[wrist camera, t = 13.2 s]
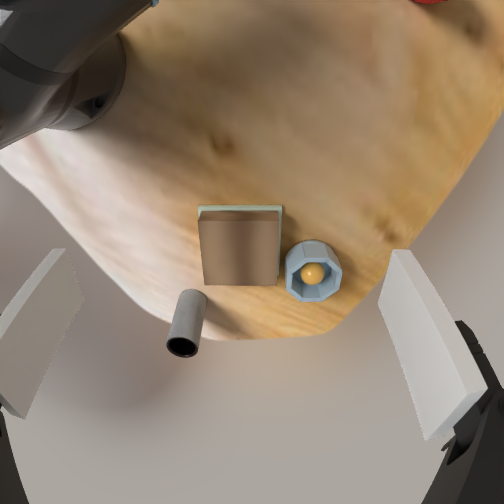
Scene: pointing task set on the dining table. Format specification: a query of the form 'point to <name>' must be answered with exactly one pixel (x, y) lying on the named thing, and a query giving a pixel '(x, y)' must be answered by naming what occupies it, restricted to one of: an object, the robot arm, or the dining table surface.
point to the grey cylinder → (187, 324)
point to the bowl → (312, 271)
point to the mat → (247, 207)
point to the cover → (239, 247)
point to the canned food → (429, 1)
